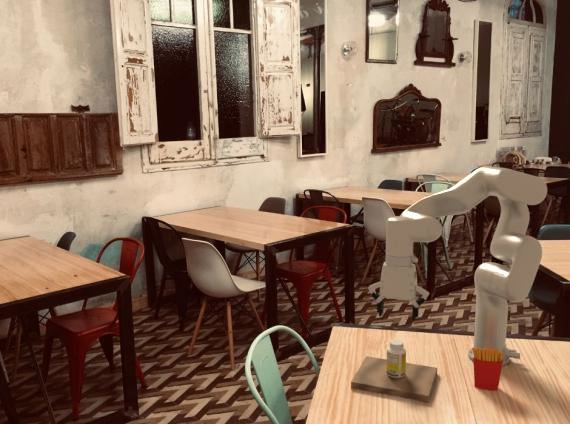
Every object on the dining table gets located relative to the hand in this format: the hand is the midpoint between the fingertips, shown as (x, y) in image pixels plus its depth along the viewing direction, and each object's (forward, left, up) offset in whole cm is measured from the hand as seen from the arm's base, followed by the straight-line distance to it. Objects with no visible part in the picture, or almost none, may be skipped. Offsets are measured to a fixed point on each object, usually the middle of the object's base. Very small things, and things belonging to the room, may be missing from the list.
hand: (397, 316), depth 162 cm
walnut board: (0, 0, -20) cm, 20 cm away
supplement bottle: (0, 0, -18) cm, 18 cm away
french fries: (-25, -6, -20) cm, 33 cm away
